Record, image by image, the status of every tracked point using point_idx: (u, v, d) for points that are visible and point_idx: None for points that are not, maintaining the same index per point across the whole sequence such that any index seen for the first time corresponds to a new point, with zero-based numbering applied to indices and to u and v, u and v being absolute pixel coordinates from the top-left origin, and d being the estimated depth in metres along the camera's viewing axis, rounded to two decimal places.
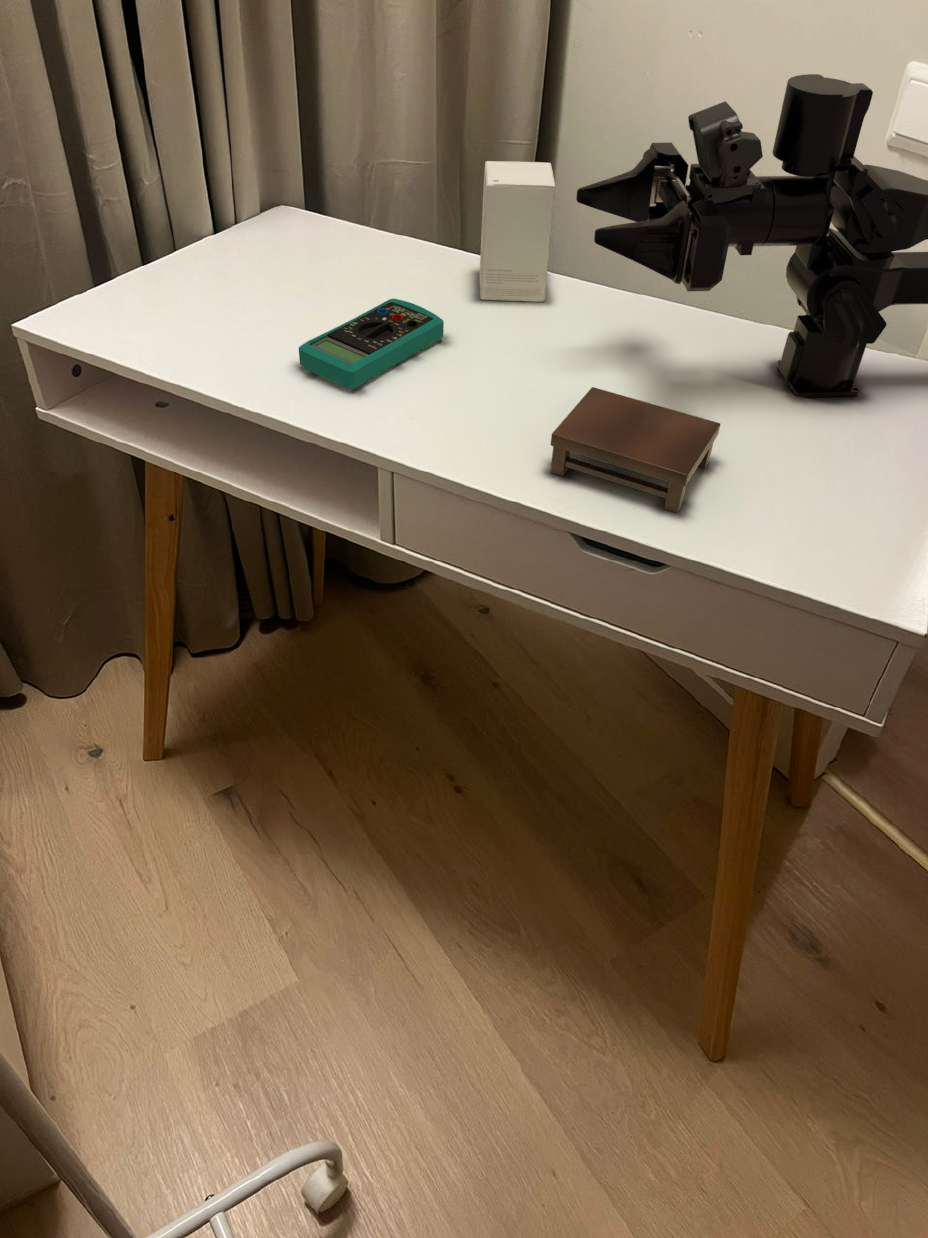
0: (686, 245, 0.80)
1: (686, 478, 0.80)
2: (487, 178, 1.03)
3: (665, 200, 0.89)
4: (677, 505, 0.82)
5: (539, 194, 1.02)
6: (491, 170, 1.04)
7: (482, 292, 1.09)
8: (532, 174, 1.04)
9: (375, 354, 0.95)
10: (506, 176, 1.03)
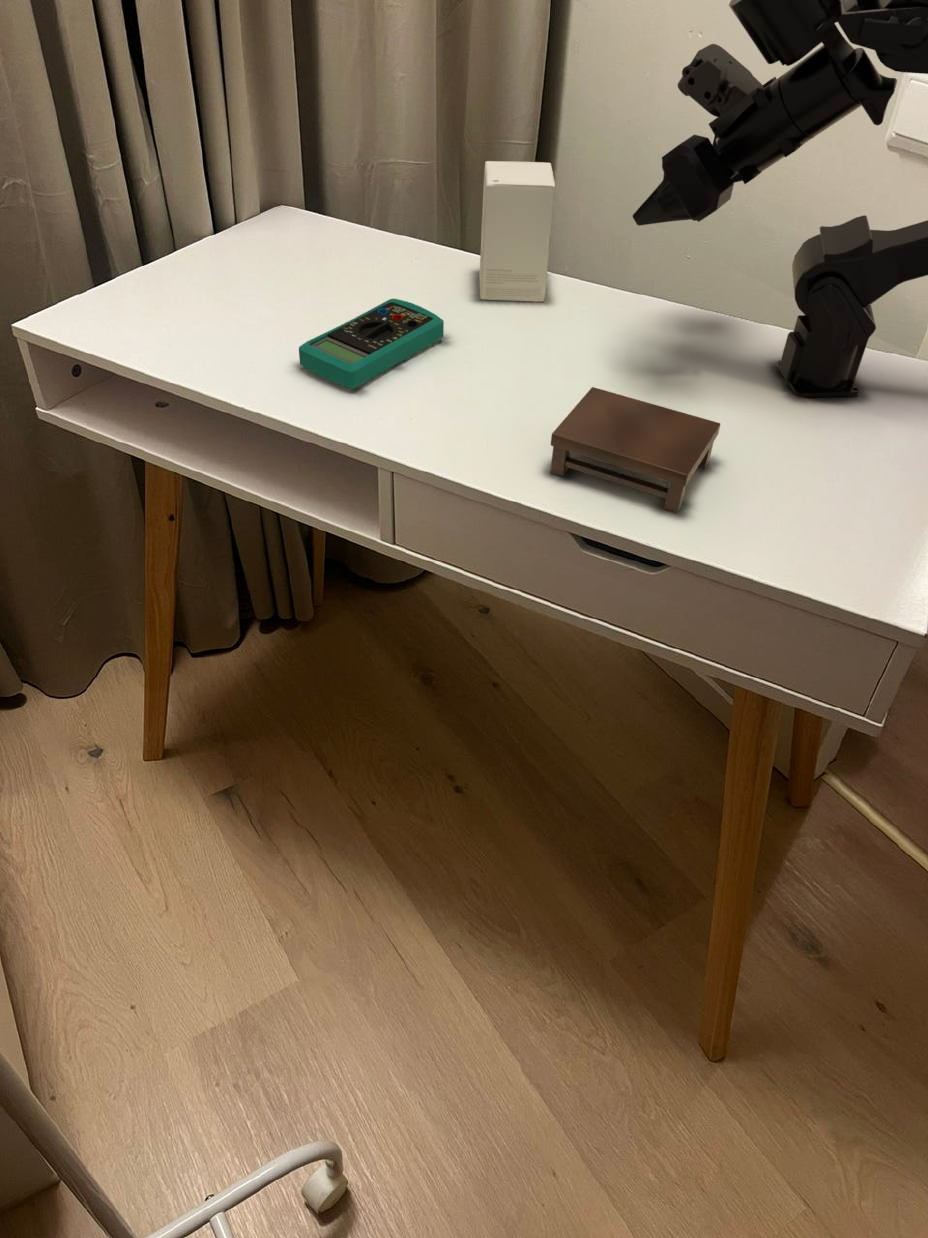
0: None
1: (686, 478, 0.80)
2: (487, 178, 1.03)
3: None
4: (677, 505, 0.82)
5: (539, 194, 1.02)
6: (491, 170, 1.04)
7: (482, 292, 1.09)
8: (532, 174, 1.04)
9: (375, 354, 0.95)
10: (506, 176, 1.03)
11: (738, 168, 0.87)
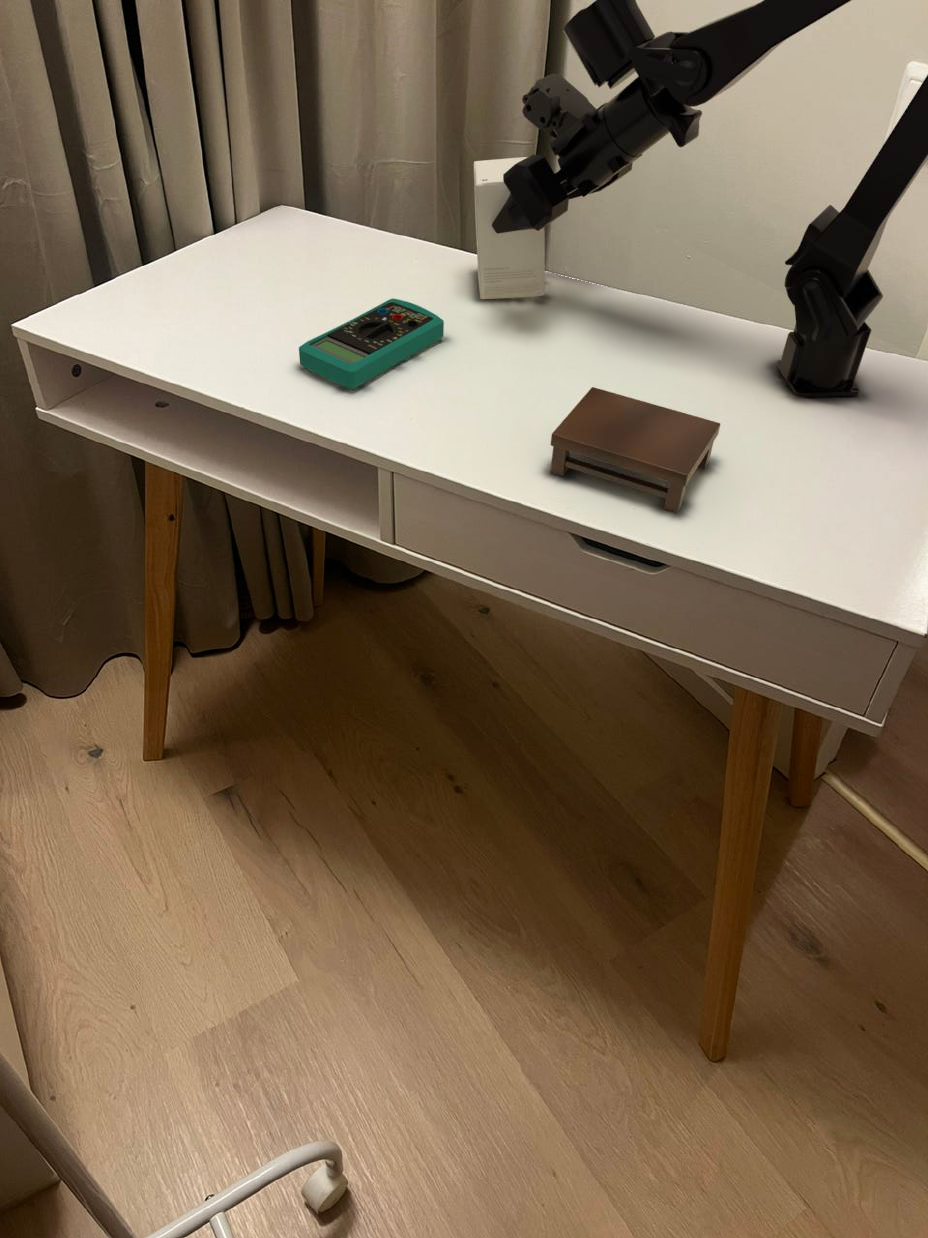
0: None
1: (686, 478, 0.80)
2: (476, 178, 1.03)
3: None
4: (677, 505, 0.82)
5: None
6: (479, 170, 1.04)
7: (481, 292, 1.09)
8: None
9: (375, 354, 0.95)
10: (495, 174, 1.03)
11: (576, 183, 0.99)
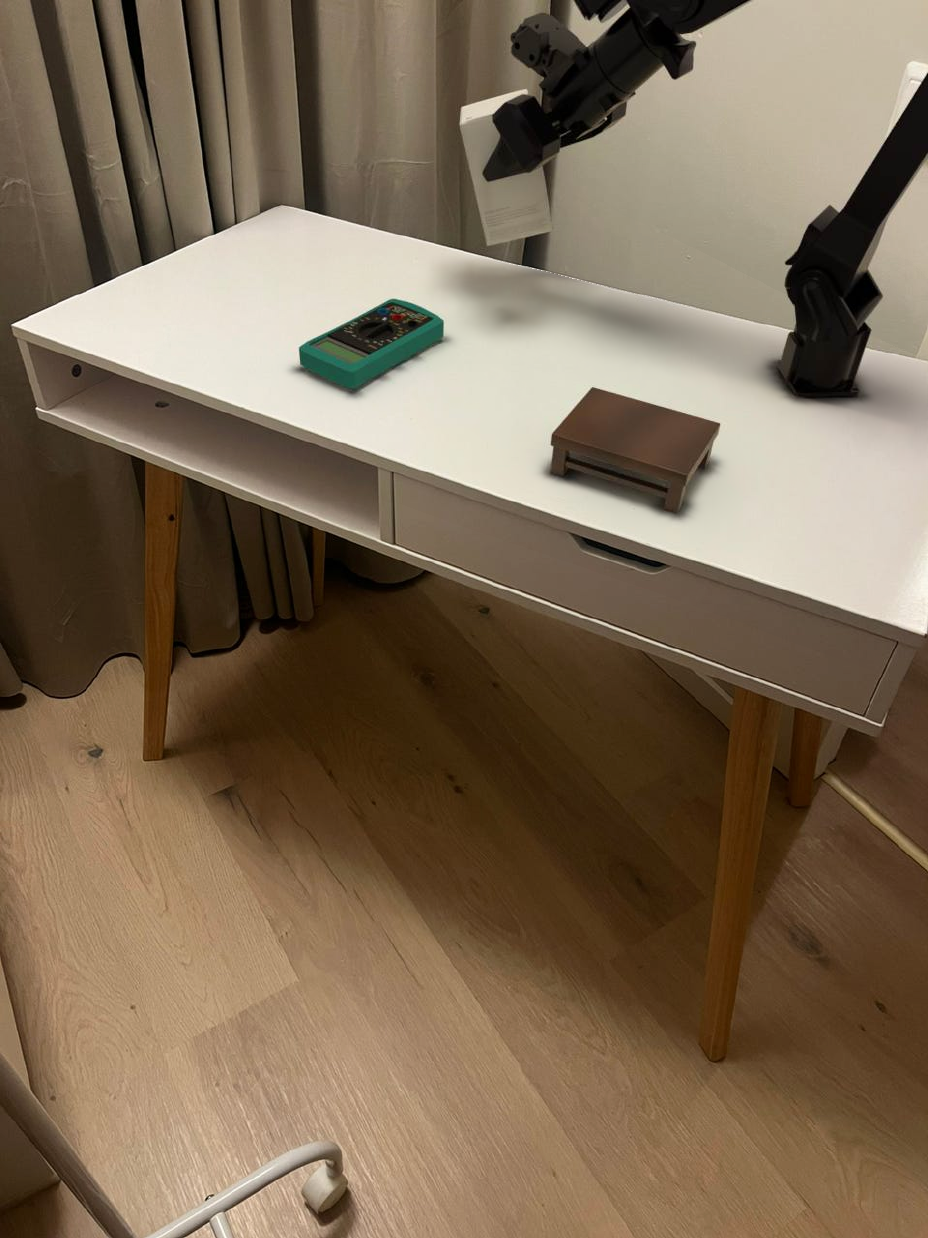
0: None
1: (686, 478, 0.80)
2: (461, 119, 1.00)
3: None
4: (677, 505, 0.82)
5: None
6: (465, 112, 1.01)
7: (487, 238, 1.05)
8: None
9: (375, 354, 0.95)
10: (479, 111, 0.99)
11: (568, 124, 0.96)
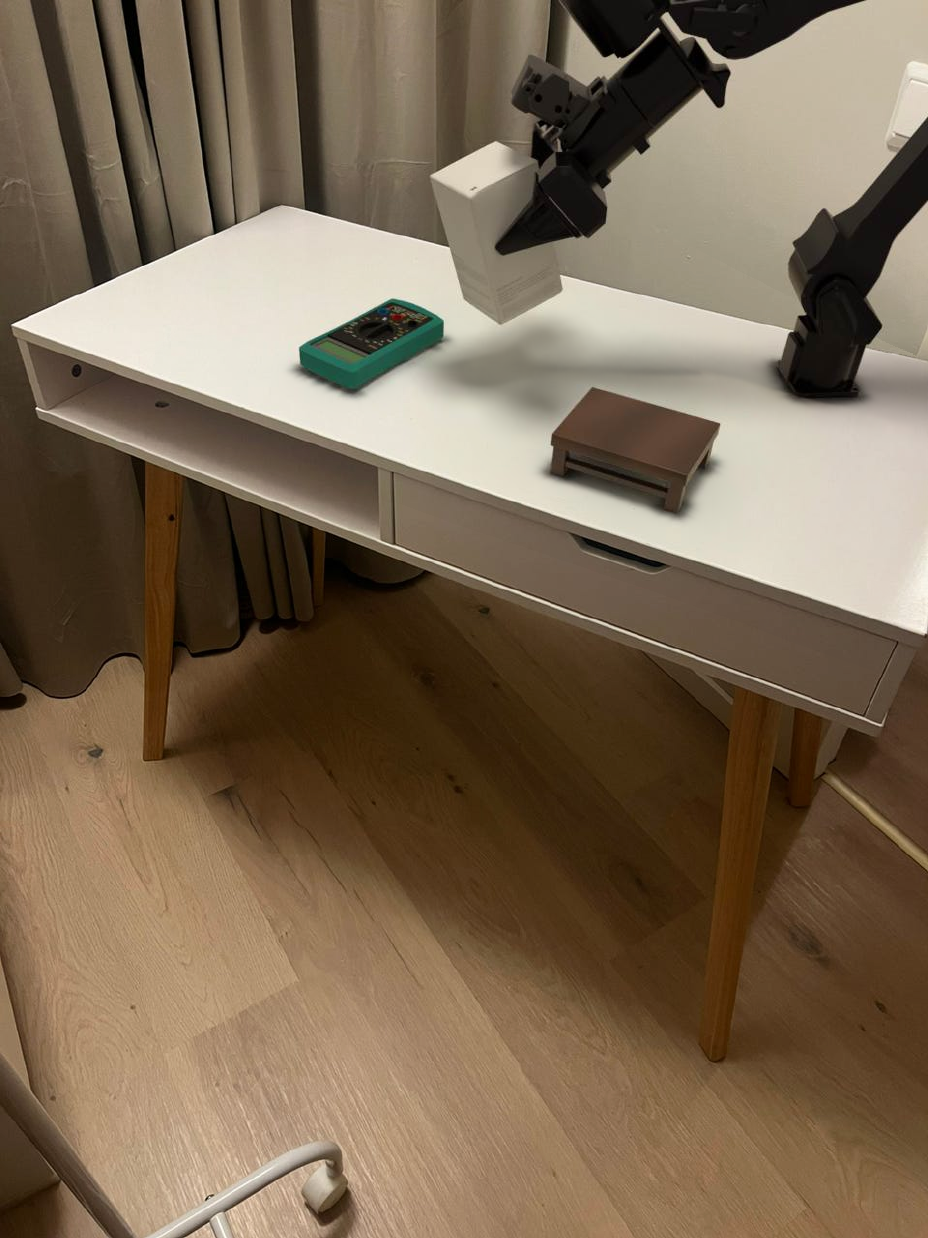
0: (555, 207, 0.81)
1: (686, 478, 0.80)
2: (460, 191, 0.84)
3: None
4: (677, 505, 0.82)
5: (525, 177, 0.84)
6: (452, 181, 0.85)
7: (500, 317, 0.91)
8: (500, 161, 0.85)
9: (375, 354, 0.95)
10: (477, 178, 0.84)
11: (594, 175, 0.84)
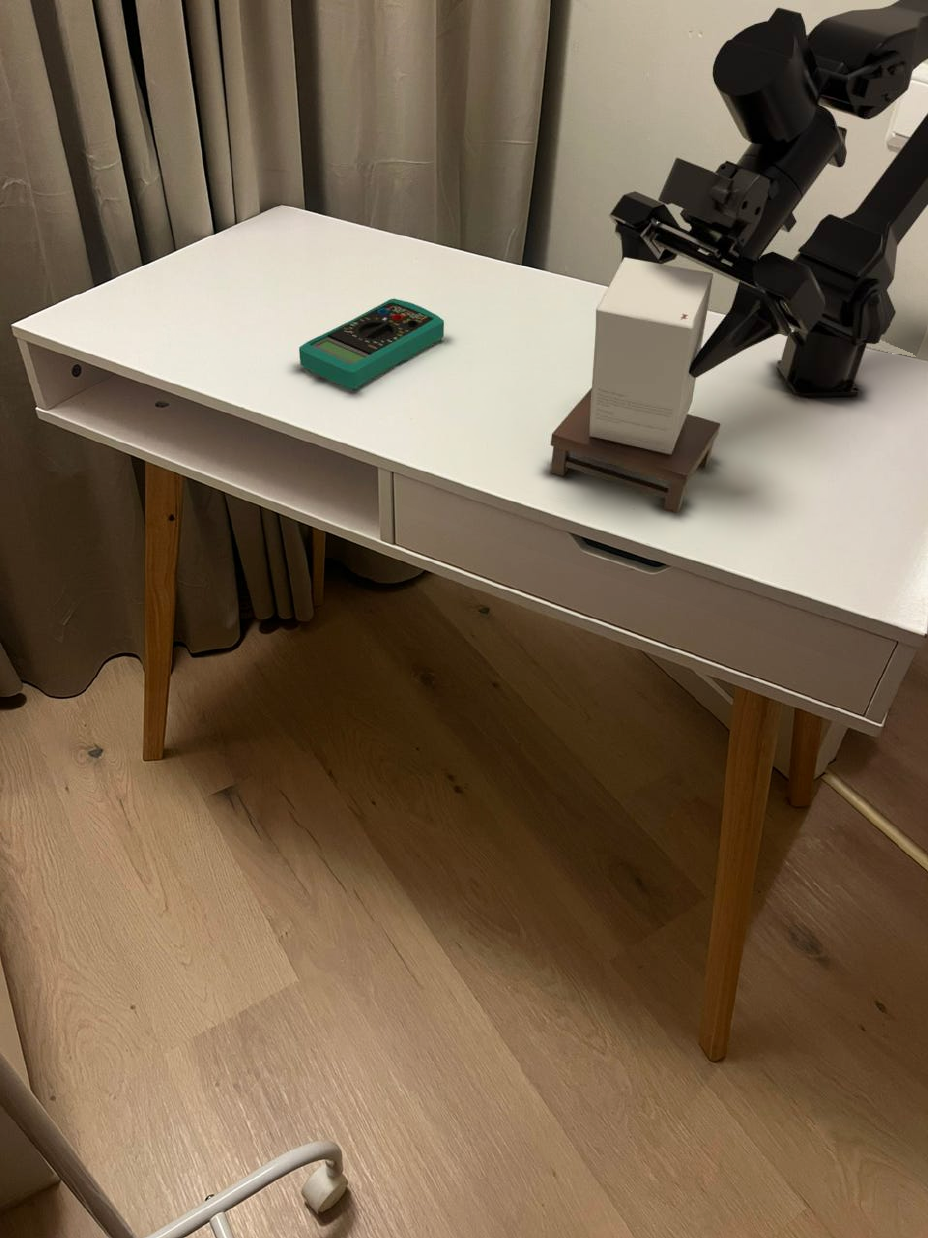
0: (780, 313, 0.73)
1: (686, 478, 0.80)
2: (668, 322, 0.72)
3: (678, 253, 0.80)
4: (677, 505, 0.82)
5: (708, 294, 0.75)
6: (642, 312, 0.73)
7: (673, 446, 0.81)
8: (671, 280, 0.75)
9: (376, 354, 0.95)
10: (672, 304, 0.73)
11: None
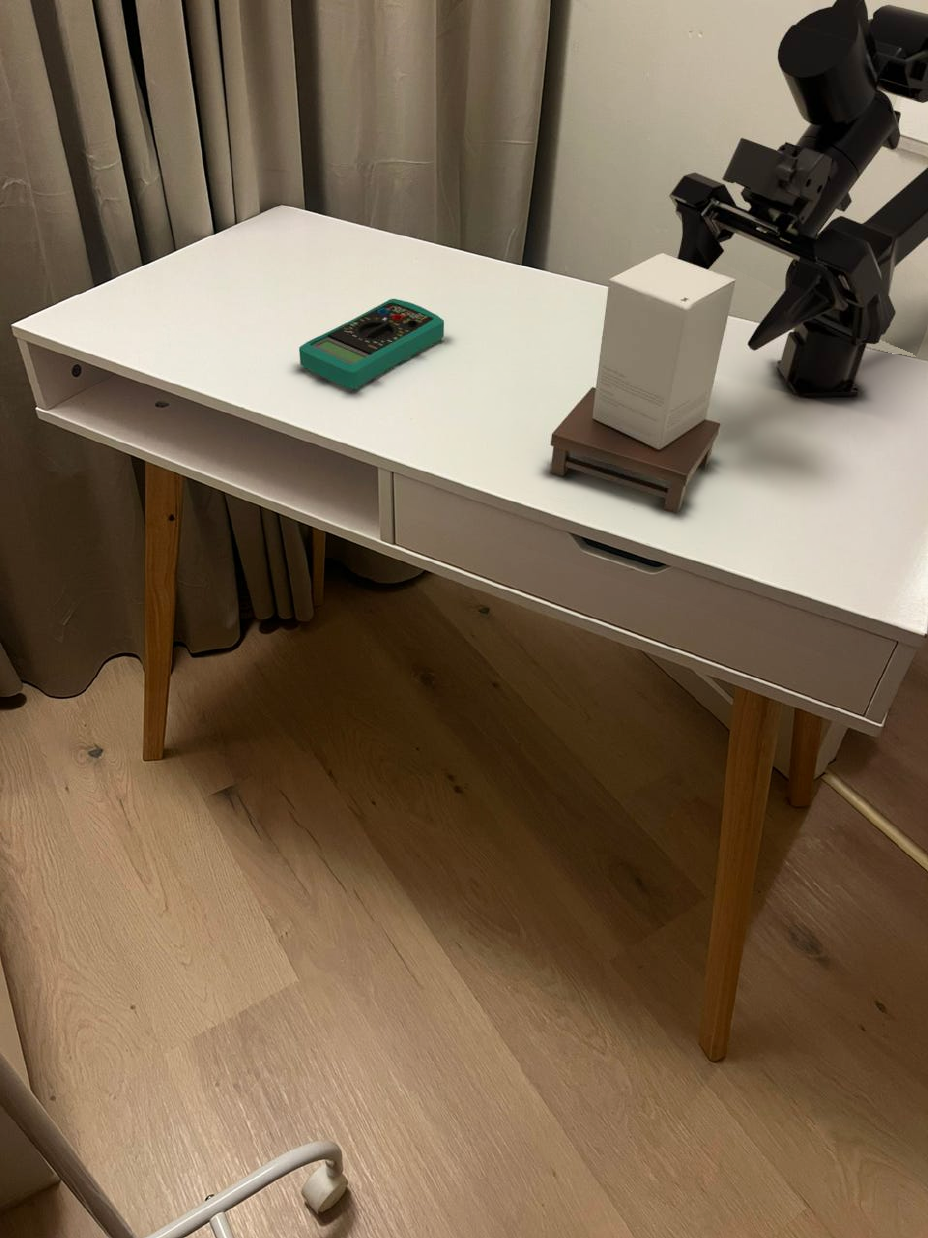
0: (838, 287, 0.76)
1: (686, 478, 0.80)
2: (667, 300, 0.74)
3: (736, 231, 0.83)
4: (677, 505, 0.82)
5: (724, 296, 0.77)
6: (648, 288, 0.76)
7: (662, 441, 0.81)
8: (691, 275, 0.77)
9: (376, 354, 0.95)
10: (680, 289, 0.75)
11: None
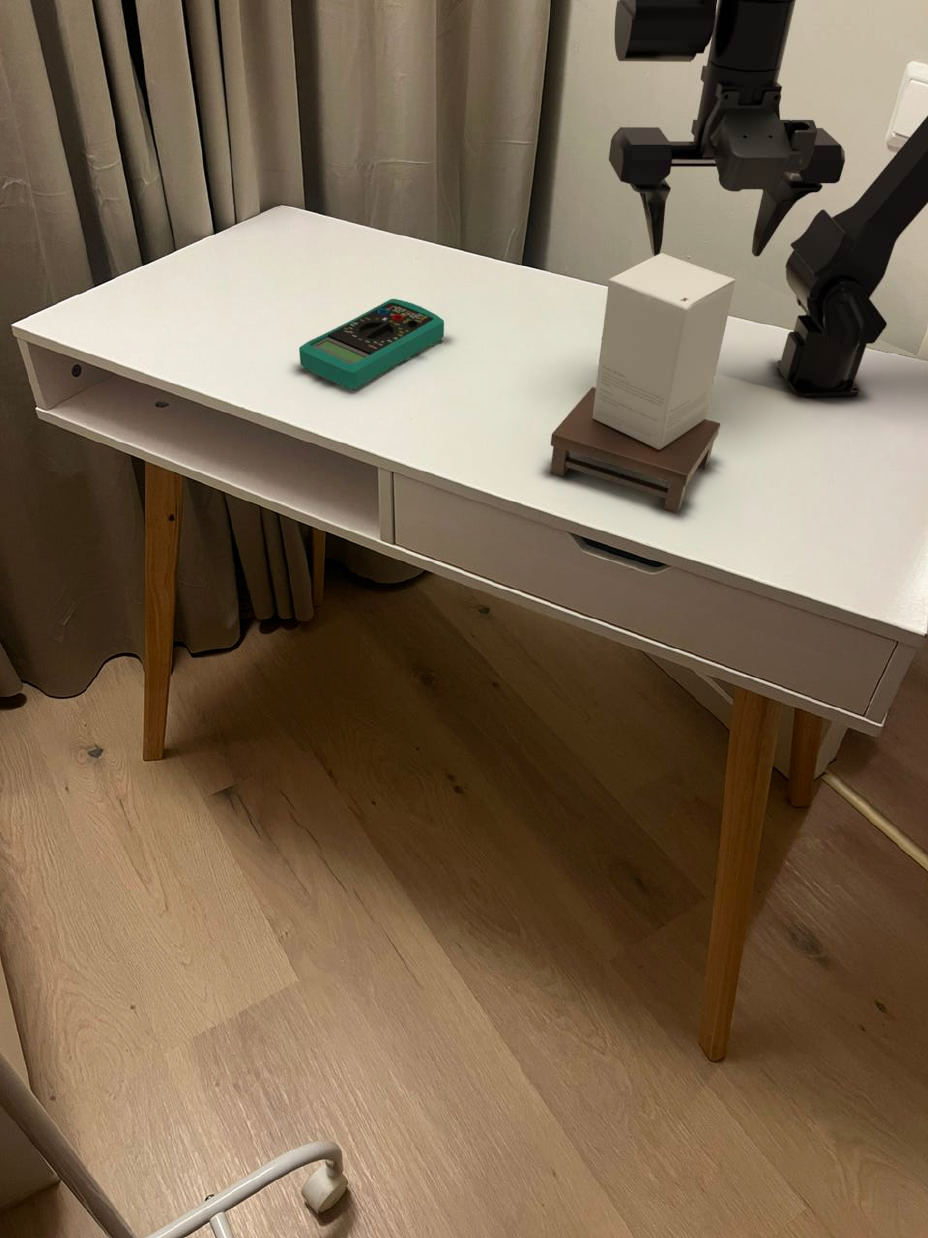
0: None
1: (686, 478, 0.80)
2: (667, 300, 0.74)
3: None
4: (677, 505, 0.82)
5: (724, 295, 0.77)
6: (648, 289, 0.76)
7: (662, 441, 0.81)
8: (691, 275, 0.77)
9: (376, 354, 0.95)
10: (680, 289, 0.75)
11: None
